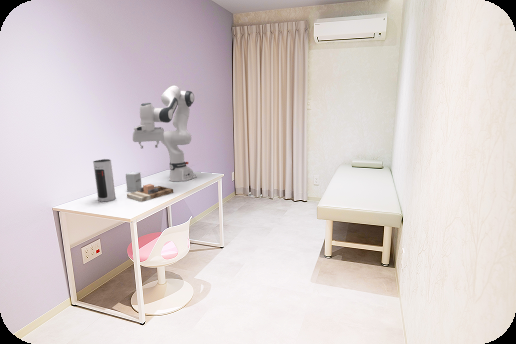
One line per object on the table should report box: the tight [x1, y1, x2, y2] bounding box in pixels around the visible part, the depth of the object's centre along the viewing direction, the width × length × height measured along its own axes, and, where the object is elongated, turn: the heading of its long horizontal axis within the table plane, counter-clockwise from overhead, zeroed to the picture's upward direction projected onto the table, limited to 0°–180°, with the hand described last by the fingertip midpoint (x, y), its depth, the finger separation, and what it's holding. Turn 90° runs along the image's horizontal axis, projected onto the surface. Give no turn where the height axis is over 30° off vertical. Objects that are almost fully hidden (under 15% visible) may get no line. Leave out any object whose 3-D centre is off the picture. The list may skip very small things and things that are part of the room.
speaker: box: [92, 158, 116, 203], centre depth 207 cm, size 11×10×26 cm
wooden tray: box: [126, 185, 174, 203], centre depth 218 cm, size 25×16×5 cm, turn 142°
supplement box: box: [125, 171, 143, 193], centre depth 230 cm, size 7×7×13 cm
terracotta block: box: [142, 183, 155, 193], centre depth 217 cm, size 5×5×4 cm
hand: (149, 148), depth 222 cm, fingers open, 8 cm apart
